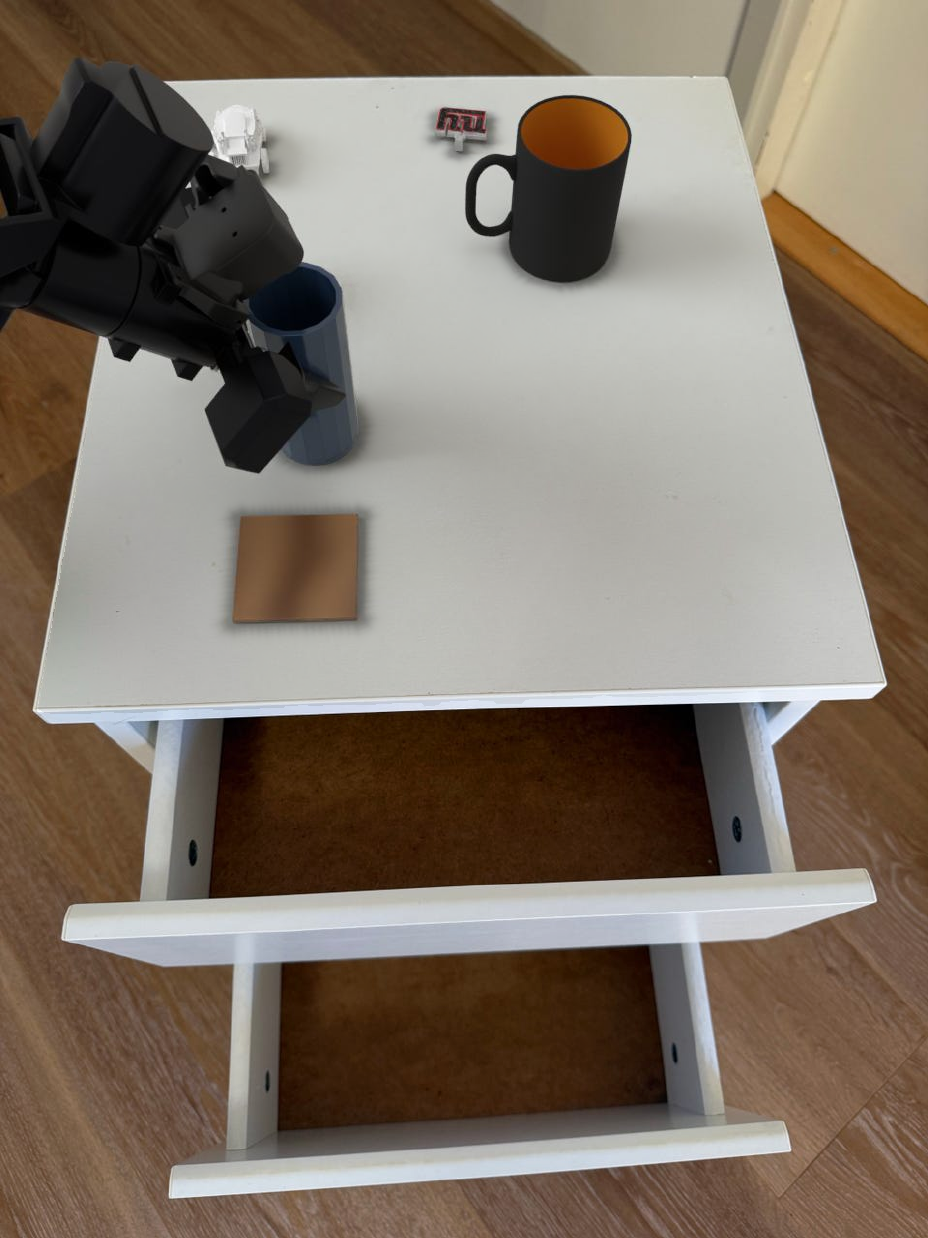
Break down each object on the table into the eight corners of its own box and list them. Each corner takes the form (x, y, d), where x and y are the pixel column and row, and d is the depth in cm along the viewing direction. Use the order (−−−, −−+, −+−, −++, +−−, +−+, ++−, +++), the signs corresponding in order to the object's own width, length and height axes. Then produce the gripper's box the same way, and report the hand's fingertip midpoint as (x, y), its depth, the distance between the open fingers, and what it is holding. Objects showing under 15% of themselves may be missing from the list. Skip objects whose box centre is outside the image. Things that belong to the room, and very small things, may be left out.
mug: (456, 217, 81) (458, 102, 72) (598, 205, 82) (618, 89, 73) (471, 291, 77) (475, 179, 68) (620, 277, 78) (643, 165, 69)
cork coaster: (233, 623, 64) (232, 620, 63) (241, 519, 67) (240, 515, 67) (356, 620, 64) (356, 617, 64) (357, 516, 68) (357, 513, 67)
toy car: (213, 191, 82) (202, 147, 78) (210, 127, 85) (200, 83, 82) (271, 186, 82) (263, 142, 78) (265, 123, 86) (258, 78, 82)
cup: (262, 452, 70) (226, 320, 58) (294, 389, 72) (266, 252, 61) (340, 474, 69) (320, 345, 58) (370, 410, 72) (356, 275, 60)
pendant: (490, 108, 86) (485, 142, 83) (490, 120, 87) (484, 154, 84) (439, 104, 86) (432, 137, 83) (439, 116, 87) (432, 149, 84)
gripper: (245, 294, 45) (460, 383, 57) (142, 57, 53) (350, 179, 65) (126, 449, 51) (345, 501, 63) (48, 214, 59) (257, 300, 71)
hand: (325, 363), depth 65 cm, fingers closed on cup, 6 cm apart
